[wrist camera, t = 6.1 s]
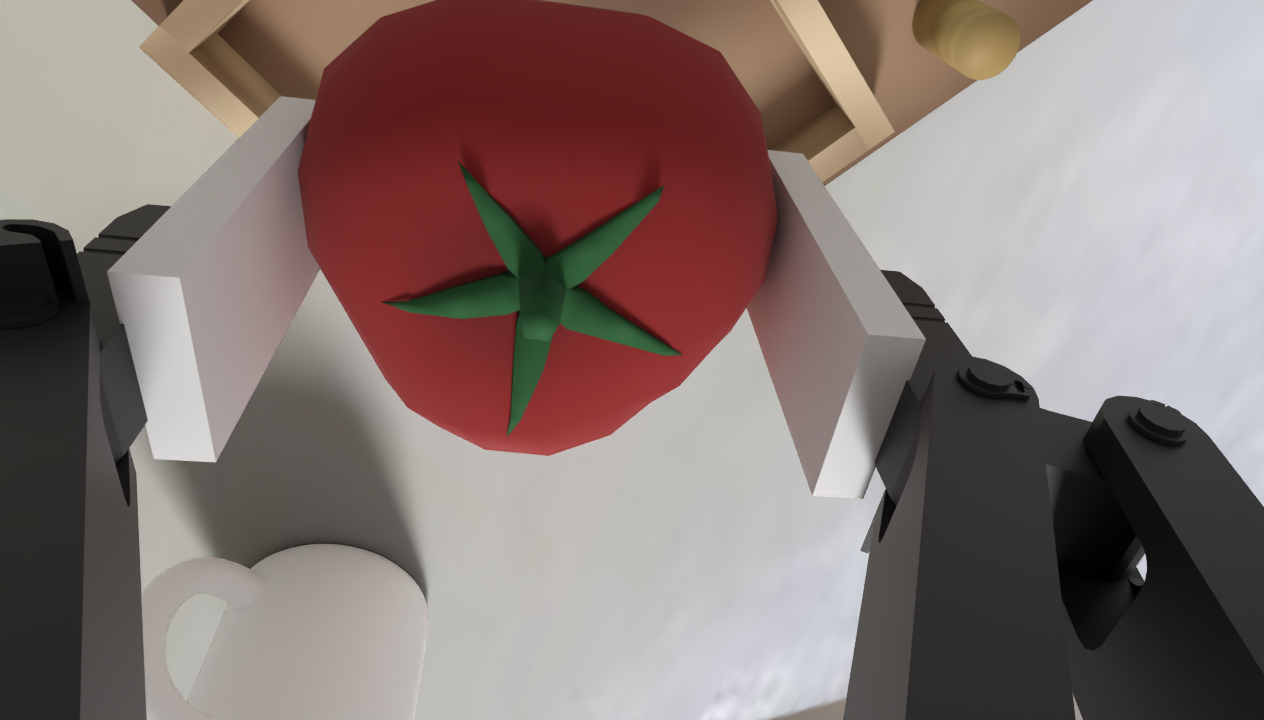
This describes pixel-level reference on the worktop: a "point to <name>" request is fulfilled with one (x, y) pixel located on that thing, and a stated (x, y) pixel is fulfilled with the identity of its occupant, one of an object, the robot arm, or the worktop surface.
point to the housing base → (691, 3)
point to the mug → (293, 638)
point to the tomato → (536, 212)
